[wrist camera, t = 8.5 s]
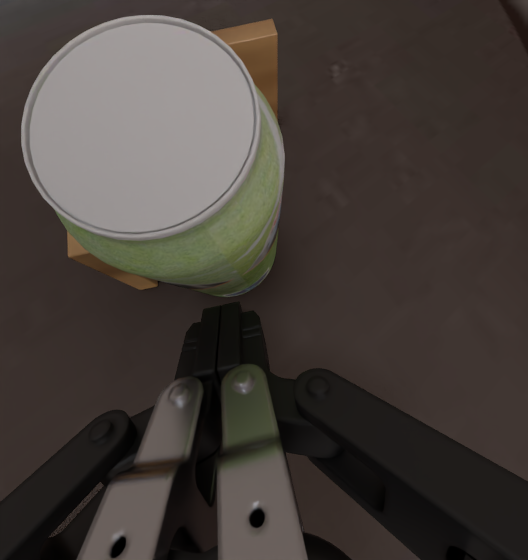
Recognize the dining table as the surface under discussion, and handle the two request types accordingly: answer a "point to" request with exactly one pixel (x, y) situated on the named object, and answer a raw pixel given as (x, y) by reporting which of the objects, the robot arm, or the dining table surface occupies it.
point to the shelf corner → (263, 70)
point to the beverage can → (159, 154)
